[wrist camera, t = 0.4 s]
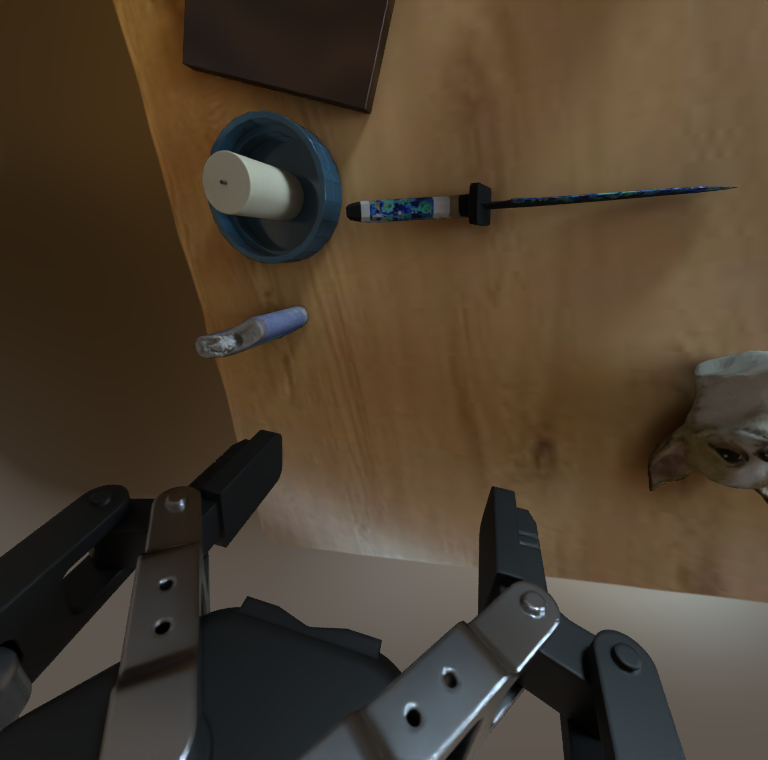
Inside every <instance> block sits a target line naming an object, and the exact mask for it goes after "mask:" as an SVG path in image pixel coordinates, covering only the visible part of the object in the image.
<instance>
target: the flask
mask: <svg viewBox="0 0 768 760" xmlns="http://www.w3.org/2000/svg"><path fill="white" fill-rule="evenodd" d="M307 321H308V313H307V311H306V309H305V308H304V307H302V306H293V307H291V308H287V309H283V310H280V311H276V312H273V313H268V314H264V315H259V316H256V317H251V318H248V319H246V320H245V321H243V322H242V323H241V324H239V325H238V326H236V327H234V328H230V329H227V330H224V331H221V332H217V333H213V334H210V335H204V336H201V337H198V338H197V339H196V341H195V346H194V347H195V349H196V351H197V353H198V354H199V355H200V356H201V357H203V358H217V357H226V356H230V355H234V354H237V353H240V352H243V351H245V350H247V349H250V348H252V347H255V346H258V345H260V344H263V343H266V342H269V341H272V340H274V339H277V338H281V337H283V336H285V335H287V334H289V333H292V332H293V331H296V330H297V329H299V328H301V327H302V326H303V325H305V324H306V323H307Z"/></svg>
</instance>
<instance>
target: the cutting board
mask: <svg viewBox="0 0 768 760" xmlns="http://www.w3.org/2000/svg"><path fill="white" fill-rule="evenodd" d="M394 3H395V0H185V17H184V40H183V64H184V65H186V66H188V67H189V68H191V69H193V70H196V71H200V72H204V73H208V74H212V75H216V76H220V77H224V78H228V79H232V80H236V81H240V82H244V83H248V84H252V85H256V86H260V87H264V88H268V89H272V90H276V91H280V92H284V93H288V94H292V95H296V96H300V97H304V98H308V99H312V100H316V101H320V102H324V103H328V104H332V105H336V106H340V107H344V108H348V109H352V110H356V111H360V112H364V113H368V114H371V110H372V105H373V100H374V96H375V91H376V86H377V82H378V77H379V72H380V68H381V63H382V59H383V54H384V49H385V45H386V40H387V35H388V31H389V26H390V21H391V17H392V12H393V7H394Z"/></svg>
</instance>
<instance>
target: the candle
mask: <svg viewBox="0 0 768 760" xmlns="http://www.w3.org/2000/svg"><path fill="white" fill-rule="evenodd" d="M203 188H204V191H205V194H206V196H207V198H208V200H209V202H210V203H211V204H212V206H213V207H214V208H216V209H217V210H218V211H220V212H222V213H224V214H230V215H239V216H247V217H255V218H263V219H272V220H280V221H289V220H292V219H294V218H295V217H296V216H297V215H298V214H299V213H300V211H301V209H302V207H303V203H304V192H303V188H302V185H301V183H300V181H299V180H298V178H297V177H296V176H295V175H293V174H292V173H290V172H288V171H285V170H282V169H279V168H276V167H274V166H271V165H268V164H265V163H262V162H259V161H256V160H253V159H250V158H248V157H245V156H242V155H239V154H236V153H233V152H230V151H225V150H223V151H218V152H216V153H214V154H213V155H211V156H210V157H209V159H208V160H207V162H206V164H205V166H204V170H203Z"/></svg>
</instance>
